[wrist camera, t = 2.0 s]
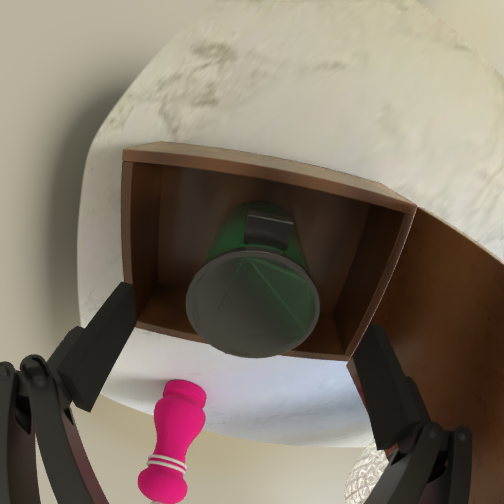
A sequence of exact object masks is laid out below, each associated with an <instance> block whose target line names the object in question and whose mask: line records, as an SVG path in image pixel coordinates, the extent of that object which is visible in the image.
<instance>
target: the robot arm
mask: <svg viewBox="0 0 504 504" xmlns="http://www.w3.org/2000/svg"><path fill="white" fill-rule="evenodd" d="M136 324H137V319H136V309H135V298H134V285H133V284H129V283H125V282H120V284H119V285H118V286H117V287H116V289H115V290H114V291H113V292H112V294H111V295H110V296H109V298H108V299H107V300H106V301H105V303H104V304H103V305H102V307H101V308H100V309H99V310H98V312H97V313H96V314H95V316H94V317H93V318H92V320H91V321H90V322H89V324H88V325H87V327H86V328H82V327H79V326H77V327H75V328H74V329H72V330H71V331H69V332H68V334H67V335H66V336H65V338H64V340H62V342H61V343H60V345H59V346H58V347H57V348H56V350H55V351H54V353H53V354H52V355H51V357H50V358H49V360H48V361H47V362H45V360H44V359H43V358H42V357H41V356H39V355H29V356H27V357H25V358H24V359H23V360H22V362H21V364H20V370H21V371H17V370H15V368H14V366H13V365H12V364H11V363H9V362H6V361H5V362H0V504H41V502H40V496H39V488H38V480H37V470H36V450H35V433H36V437H37V441H38V445H39V449H40V453H41V456H42V460H43V463H44V466H45V470H46V473H47V476H48V479H49V481H50V484H51V487H52V490H53V492H54V495H55V497H56V500H57V502H58V504H109V502H108V501H107V499H106V497H105V495H104V493H103V491H102V489H101V487H100V485H99V483H98V480H97V478H96V477H95V474H94V472H93V469H92V467H91V465H90V462H89V460H88V457H87V455H86V452H85V450H84V447H83V444H82V442H81V439H80V436H79V433H78V430H77V427H76V424H75V421H74V417H73V414H72V410H71V408H70V404H71V402H72V400H73V402H74V404H75V405H76V407H78V408H80V409H83V410H85V411H87V412H91V409H92V408H93V405H94V403H95V401H96V399H97V397H98V395H99V393H100V391H101V389H102V387H103V385H104V383H105V381H106V379H107V377H108V375H109V373H110V372H111V370H112V368H113V366H114V364H115V362H116V360H117V358H118V356H119V355H120V353H121V351H122V349H123V347H124V345H125V344H126V342H127V340H128V338H129V336H130V335H131V333H132V331H133V329H134V327H135V326H136ZM353 360H354V364H355V367H356V370H357V374H358V377H359V381H360V384H361V388H362V392H363V395H364V399H365V403H366V407H367V410H368V414H369V418H370V422H371V426H372V431H373V435H374V439H375V443H376V448H377V451H379V450H385V449H390V448H391V447H393V446H394V445H395V444H396V443H397V446H398V448H397V449H396V450H395V451H393V452H392V453H391V454H390V455H388V457H387V459H388V458H390V457H391V456H392V457H391V459H390V461H389V463H388V465H387V467H386V468H385V470H384V472H383V474H382V475H381V477H380V479H379V480H378V482H377V484H376V485H375V487H374V489H373V490H372V492H371V493H370V495H369V496H368V498H367V499H366V501H365V502H364V504H468V501H469V494H470V484H471V472H472V433H471V431H470V430H469V429H468V428H467V427H466V426H459V427H457V428H456V429H455V430H454V431H449V430H443V429H442V427H441V426H440V425H439V424H438V423H437V422H433V421H431V419H430V417H429V414H428V411H427V409H426V406H425V404H424V401H423V399H422V396H421V394H420V393H419V389H418V387H417V385H416V383H415V382H414V380H413V379H412V378H411V377H410V376H407V377H405V375H404V372H403V370H402V368H401V365H400V363H399V361H398V359H397V356H396V354H395V352H394V350H393V347H392V345H391V343H390V341H389V339H388V337H387V334H386V332H385V330H384V328H383V326H382V325H378V324H370V326H369V328H368V330H367V332H366V334H365V336H364V338H363V340H362V342H361V343H360V345H359V347H358V349H357V351H356V352H355V354H354V356H353ZM446 462H447V466H446Z"/></svg>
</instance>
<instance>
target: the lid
mask: <svg viewBox="0 0 504 504" xmlns="http://www.w3.org/2000/svg"><path fill="white" fill-rule="evenodd" d="M370 324H378V325H382V326H383V328H384V330H385V332H386V334H387V337H388V339H389V341H390V343H391V345H392V347H393V350H394V352H395V354H396V356H397V359H398V361H399V363H400V365H401V368H402V370H403V372H404V375H405V377H407V376H410V377H411V378H412V379H413V380H414V382H415V383H416V385H417V387H418V389H419V393H420V394H421V396H422V399H423V401H424V404H425V406H426V409H427V411H428V414H429V417H430V419H431V421H433V422H437V423H438V424H439V425H440V426H441V427H442V429H443V430H449V431H454V430H455V429H456V428H457V427H459V426H466V427H467V428H468V429H469V430H470V431H471V433H472V472H471V484H470V494H469V501H468V504H504V262H503V261H502V260H501V259H499V258H498V257H497V256H496V255H494V254H493V253H492V252H490V251H489V250H487V249H486V248H485V247H483V246H482V245H480V244H479V243H478V242H476V241H475V240H473V239H472V238H470V237H469V236H467V235H466V234H464V233H463V232H461V231H460V230H458V229H457V228H455V227H454V226H452V225H451V224H449V223H447V222H446V221H444V220H443V219H441V218H439V217H438V216H436V215H434V214H433V213H431V212H429V211H428V210H426V209H424V208H420V207H417V210H416V213H415V216H414V219H413V222H412V225H411V228H410V230H409V233H408V236H407V239H406V241H405V244H404V247H403V249H402V252H401V254H400V257H399V260H398V262H397V264H396V267H395V269H394V272H393V274H392V276H391V279H390V281H389V283H388V285H387V288H386V290H385V292H384V294H383V296H382V299H381V301H380V303H379V305H378V307H377V309H376V311H375V313H374V315H373V317H372V319H371V321H370V323H369V325H368V327H367V329H366V331H365V333H364V335H363V336H362V338H361V340H360V342H359V344H358V346H357V347H356V349H355V351H354V353H353V355H352V356H351V358H350V360H349V361H348V363H347V365H346V367H347V369H348V371H349V373H350V375H351V377H352V379H353V382H354V384H355V386H356V388H357V390H358V392H359V395H360V397H361V399H362V401H363V404H364V406H365V408H366V410H367V407H366V403H365V399H364V395H363V392H362V388H361V384H360V381H359V377H358V374H357V370H356V367H355V364H354V360H353V356H354V354H355V352H356V351H357V349H358V347H359V345H360V343H361V342H362V340H363V338H364V336H365V334H366V332H367V330H368V328H369V326H370ZM367 413H368V410H367ZM368 415H369V414H368ZM397 448H398V446H397V443H396V444H395V445H394V446H393V447H391V448H390V449H385V450H384V452H385V454H386V457H388V455H390V454H391V453H392V452H393V451H395V450H396V449H397ZM391 457H392V456H391ZM391 457H390V458H388V462H389V461H390V459H391ZM446 466H447V462H446Z"/></svg>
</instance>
